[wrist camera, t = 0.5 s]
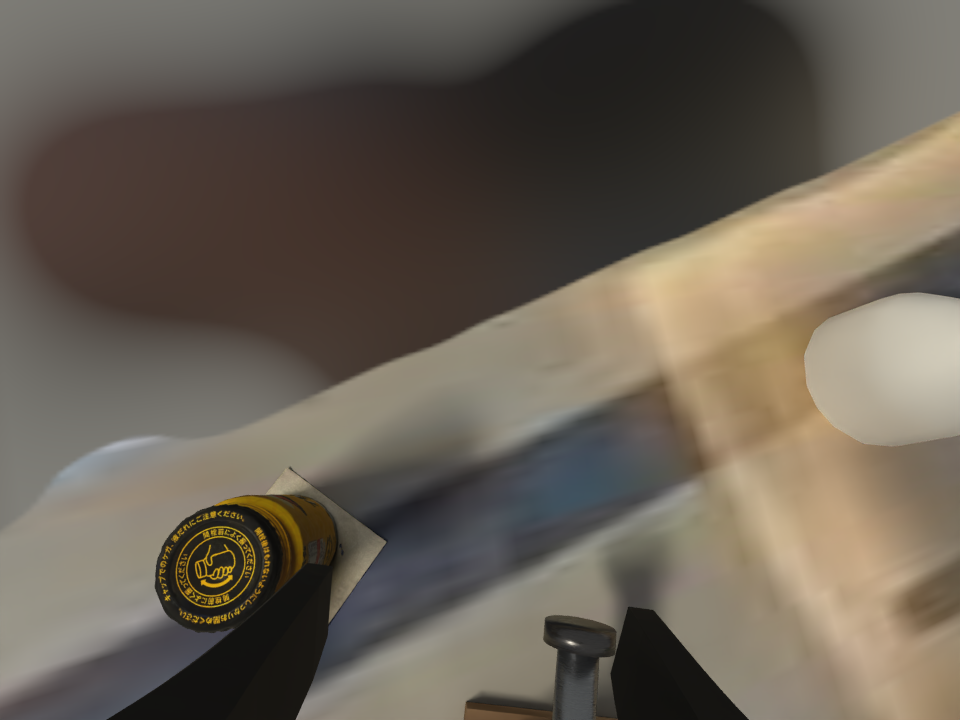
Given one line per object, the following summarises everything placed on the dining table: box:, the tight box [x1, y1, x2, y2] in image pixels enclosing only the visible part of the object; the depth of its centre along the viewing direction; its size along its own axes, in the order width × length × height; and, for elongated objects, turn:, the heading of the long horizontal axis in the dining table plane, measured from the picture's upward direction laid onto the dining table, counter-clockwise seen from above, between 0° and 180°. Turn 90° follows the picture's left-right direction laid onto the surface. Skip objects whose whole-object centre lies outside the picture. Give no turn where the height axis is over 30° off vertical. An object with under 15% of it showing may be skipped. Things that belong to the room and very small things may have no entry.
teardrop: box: [804, 293, 960, 447], centre depth 34 cm, size 11×11×12 cm
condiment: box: [155, 468, 386, 633], centre depth 27 cm, size 7×8×12 cm
